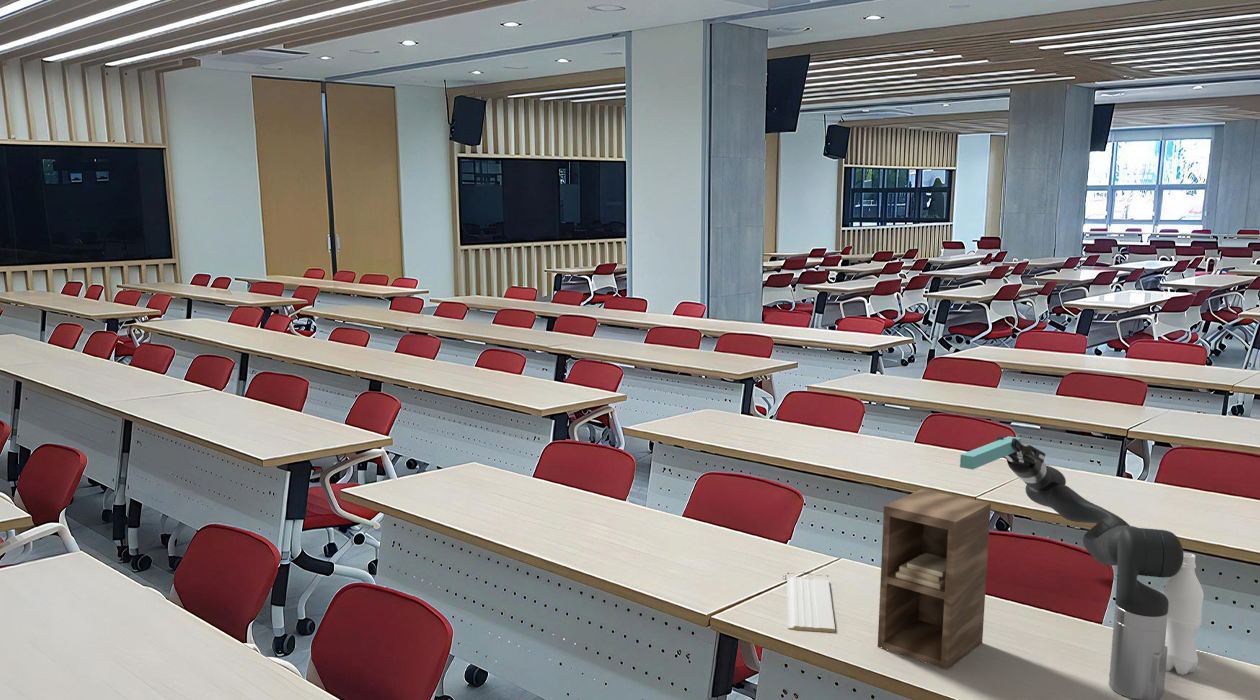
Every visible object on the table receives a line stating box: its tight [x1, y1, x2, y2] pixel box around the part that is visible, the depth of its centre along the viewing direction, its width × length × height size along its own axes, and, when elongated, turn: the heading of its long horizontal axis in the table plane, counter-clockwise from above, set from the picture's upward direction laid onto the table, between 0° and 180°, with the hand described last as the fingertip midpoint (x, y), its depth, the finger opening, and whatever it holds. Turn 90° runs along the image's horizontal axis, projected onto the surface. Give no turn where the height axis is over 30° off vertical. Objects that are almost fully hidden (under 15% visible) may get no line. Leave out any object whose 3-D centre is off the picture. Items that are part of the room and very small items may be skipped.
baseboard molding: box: [784, 571, 836, 633], centre depth 231 cm, size 31×3×12 cm
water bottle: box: [1163, 551, 1205, 675], centre depth 197 cm, size 7×7×25 cm
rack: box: [877, 488, 992, 671], centre depth 207 cm, size 16×18×32 cm
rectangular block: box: [959, 435, 1022, 470], centre depth 227 cm, size 3×28×3 cm, turn 137°
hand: (1006, 440), depth 233 cm, fingers closed on rectangular block, 3 cm apart
